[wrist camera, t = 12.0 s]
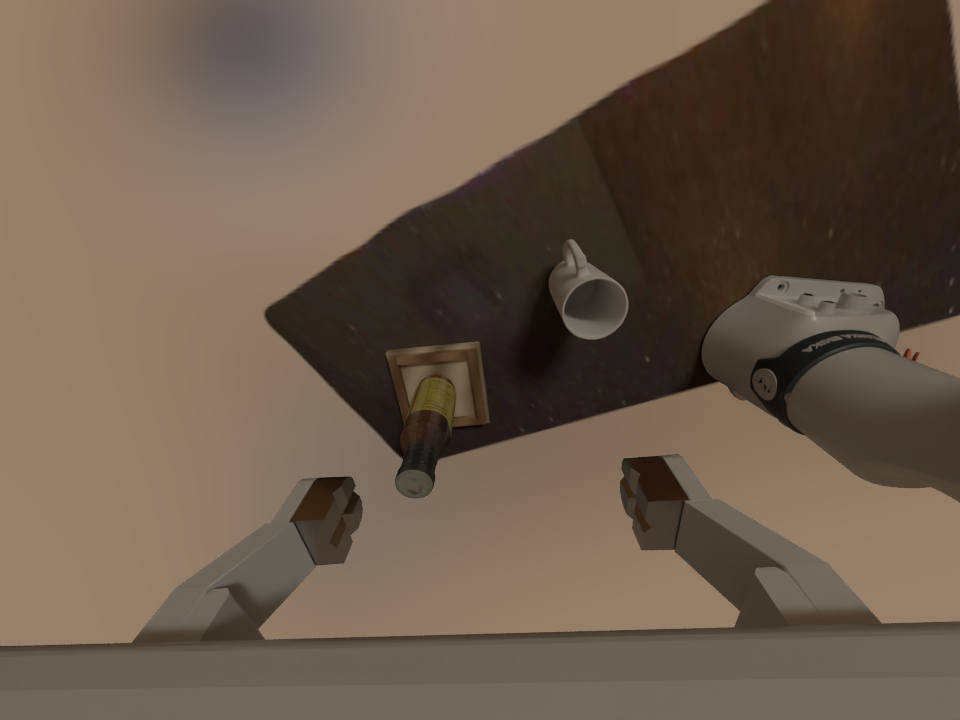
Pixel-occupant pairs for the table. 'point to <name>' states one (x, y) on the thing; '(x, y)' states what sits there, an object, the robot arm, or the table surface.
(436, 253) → the table surface
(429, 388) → the sauce bottle
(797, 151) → the table surface
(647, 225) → the table surface
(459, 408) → the seat plate
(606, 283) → the mug
